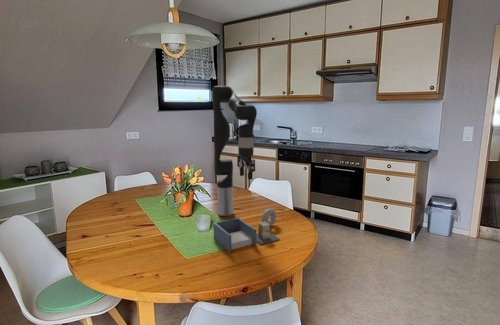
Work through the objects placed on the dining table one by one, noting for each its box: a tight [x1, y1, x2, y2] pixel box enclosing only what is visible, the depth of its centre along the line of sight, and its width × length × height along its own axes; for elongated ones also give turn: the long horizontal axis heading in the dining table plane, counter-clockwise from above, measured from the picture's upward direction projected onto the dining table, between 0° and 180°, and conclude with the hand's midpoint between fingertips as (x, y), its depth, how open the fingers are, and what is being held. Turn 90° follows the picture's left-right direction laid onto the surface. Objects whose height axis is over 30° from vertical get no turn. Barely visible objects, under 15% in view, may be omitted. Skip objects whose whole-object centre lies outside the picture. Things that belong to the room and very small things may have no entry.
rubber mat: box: [256, 232, 281, 246], centre depth 156 cm, size 11×11×1 cm
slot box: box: [212, 217, 257, 253], centre depth 152 cm, size 18×14×8 cm
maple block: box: [258, 221, 271, 239], centre depth 156 cm, size 4×4×7 cm
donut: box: [261, 208, 277, 227], centre depth 171 cm, size 10×4×10 cm, turn 133°
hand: (245, 177), depth 161 cm, fingers open, 8 cm apart
